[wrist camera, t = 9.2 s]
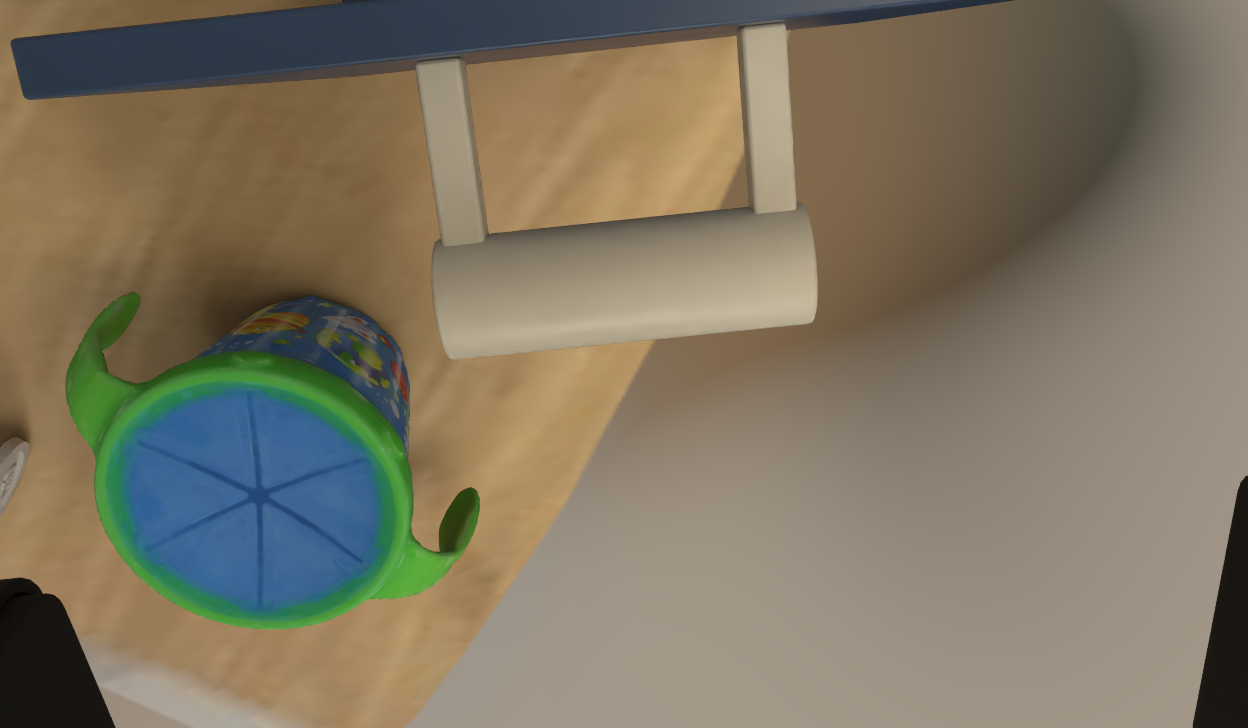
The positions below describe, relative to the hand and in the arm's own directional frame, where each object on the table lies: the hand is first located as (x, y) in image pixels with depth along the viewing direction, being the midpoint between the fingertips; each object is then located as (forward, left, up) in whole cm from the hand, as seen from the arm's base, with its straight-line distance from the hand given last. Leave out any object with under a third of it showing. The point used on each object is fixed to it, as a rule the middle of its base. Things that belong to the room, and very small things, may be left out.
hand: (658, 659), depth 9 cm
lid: (-3, 0, -18) cm, 18 cm away
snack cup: (+15, -11, -34) cm, 39 cm away
